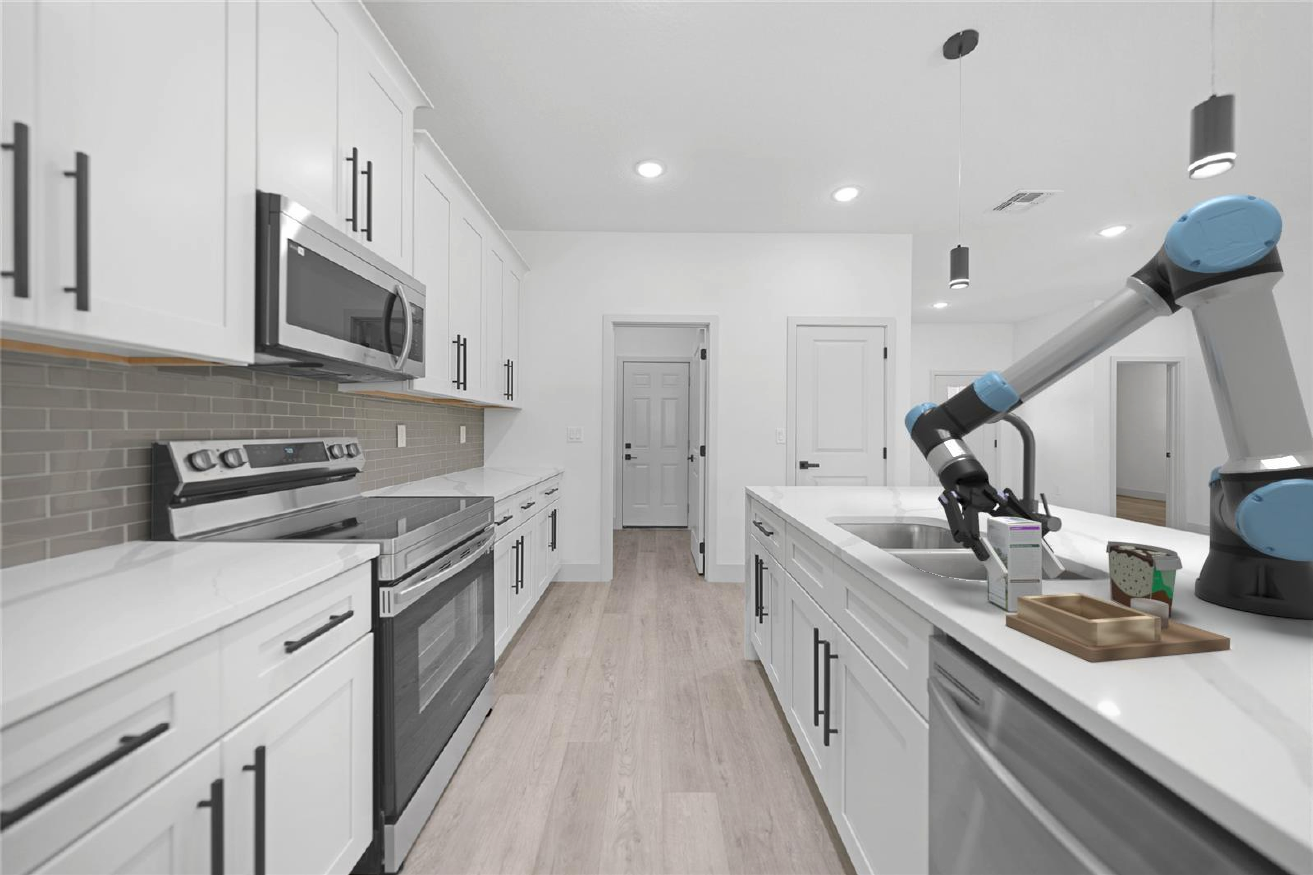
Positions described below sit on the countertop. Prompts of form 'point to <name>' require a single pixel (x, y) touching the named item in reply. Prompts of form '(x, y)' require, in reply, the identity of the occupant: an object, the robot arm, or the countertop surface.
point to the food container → (1141, 572)
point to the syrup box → (1015, 560)
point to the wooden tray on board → (1109, 627)
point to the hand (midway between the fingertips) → (1030, 575)
